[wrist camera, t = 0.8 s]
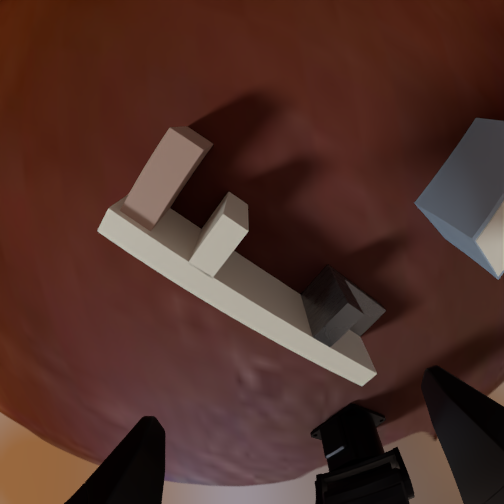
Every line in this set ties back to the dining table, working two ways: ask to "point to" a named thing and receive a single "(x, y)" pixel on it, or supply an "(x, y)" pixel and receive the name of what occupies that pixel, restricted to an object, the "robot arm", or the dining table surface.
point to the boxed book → (472, 196)
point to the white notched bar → (218, 257)
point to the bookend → (338, 307)
